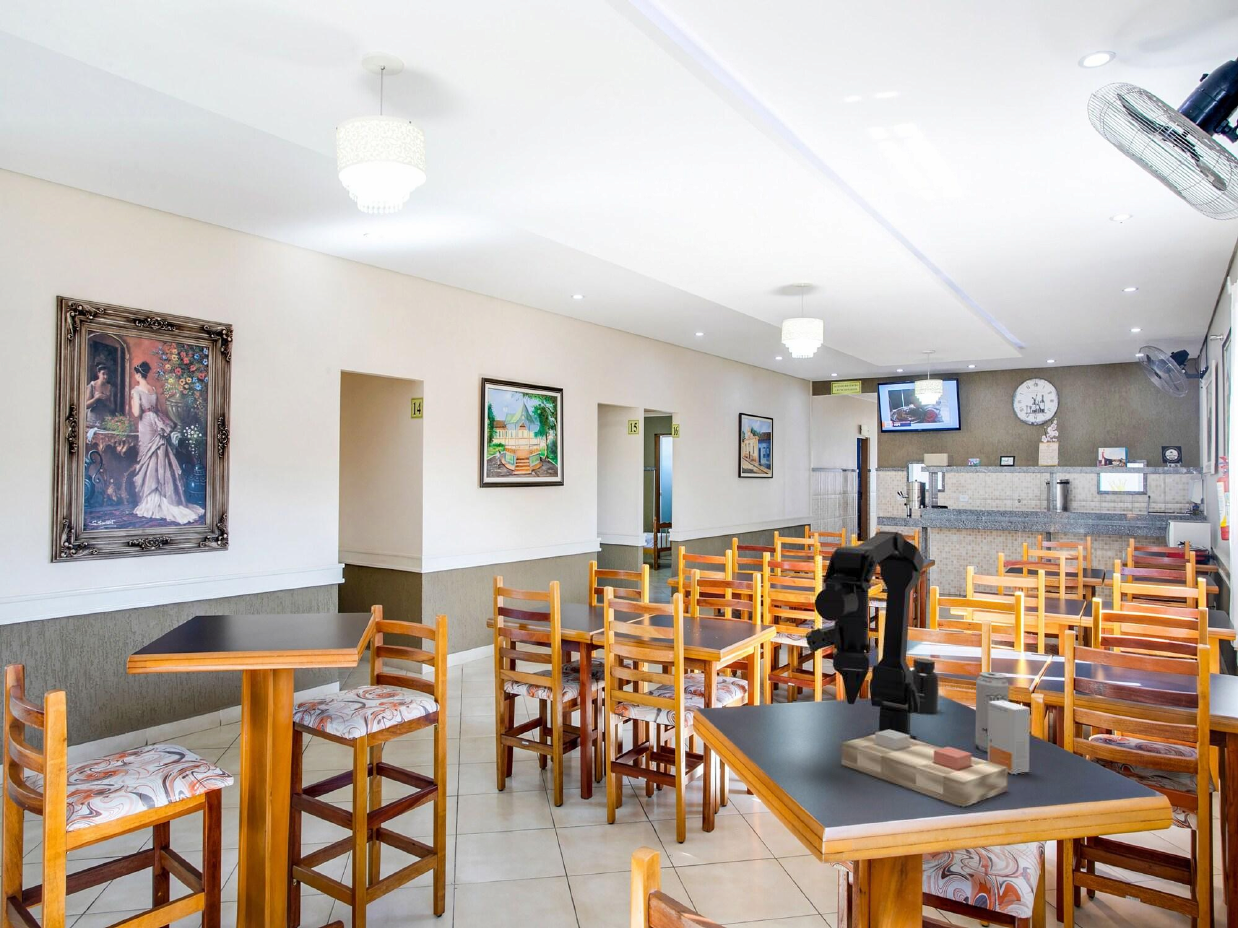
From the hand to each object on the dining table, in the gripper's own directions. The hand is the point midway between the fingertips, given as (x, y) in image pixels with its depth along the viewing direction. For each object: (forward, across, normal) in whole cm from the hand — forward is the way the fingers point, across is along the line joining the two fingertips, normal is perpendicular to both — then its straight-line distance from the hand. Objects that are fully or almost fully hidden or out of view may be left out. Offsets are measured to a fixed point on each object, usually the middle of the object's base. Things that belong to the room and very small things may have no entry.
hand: (851, 697), depth 148 cm
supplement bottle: (+14, -48, +16) cm, 52 cm away
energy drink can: (+13, -21, +27) cm, 37 cm away
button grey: (+10, -1, +7) cm, 12 cm away
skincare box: (+13, -9, +28) cm, 32 cm away
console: (+12, +3, +12) cm, 17 cm away
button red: (+10, +6, +17) cm, 21 cm away
